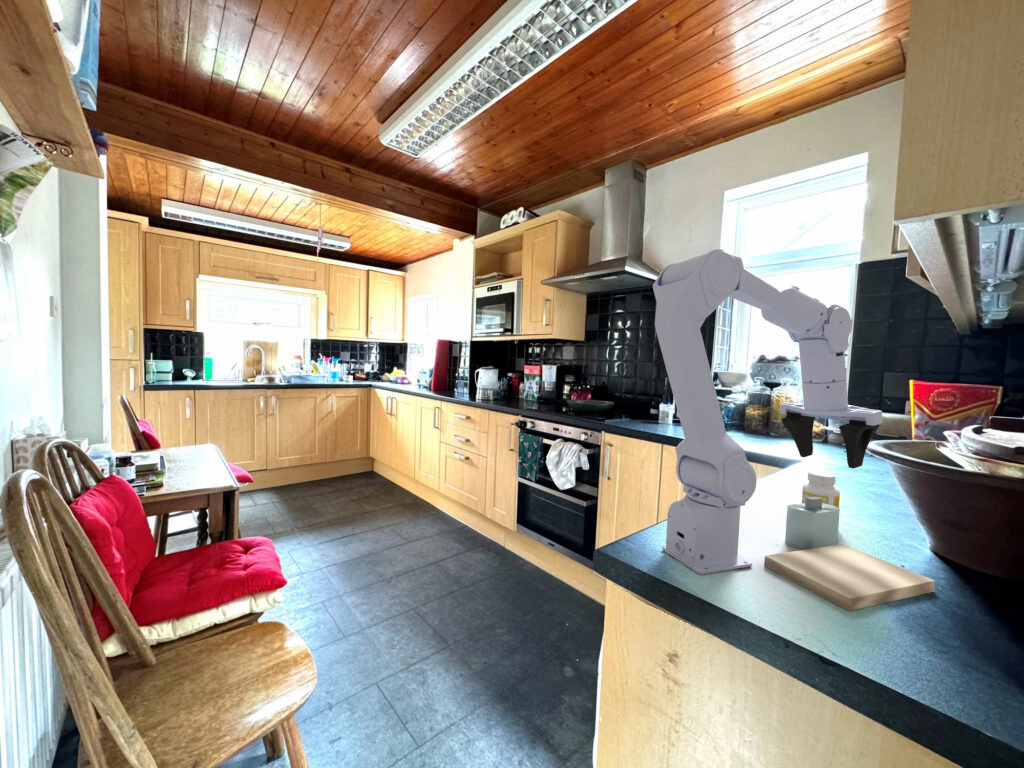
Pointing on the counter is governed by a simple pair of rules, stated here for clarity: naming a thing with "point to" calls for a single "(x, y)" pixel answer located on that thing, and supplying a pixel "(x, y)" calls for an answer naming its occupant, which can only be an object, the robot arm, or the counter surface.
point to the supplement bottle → (821, 488)
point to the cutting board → (849, 576)
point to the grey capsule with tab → (812, 524)
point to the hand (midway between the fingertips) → (829, 460)
